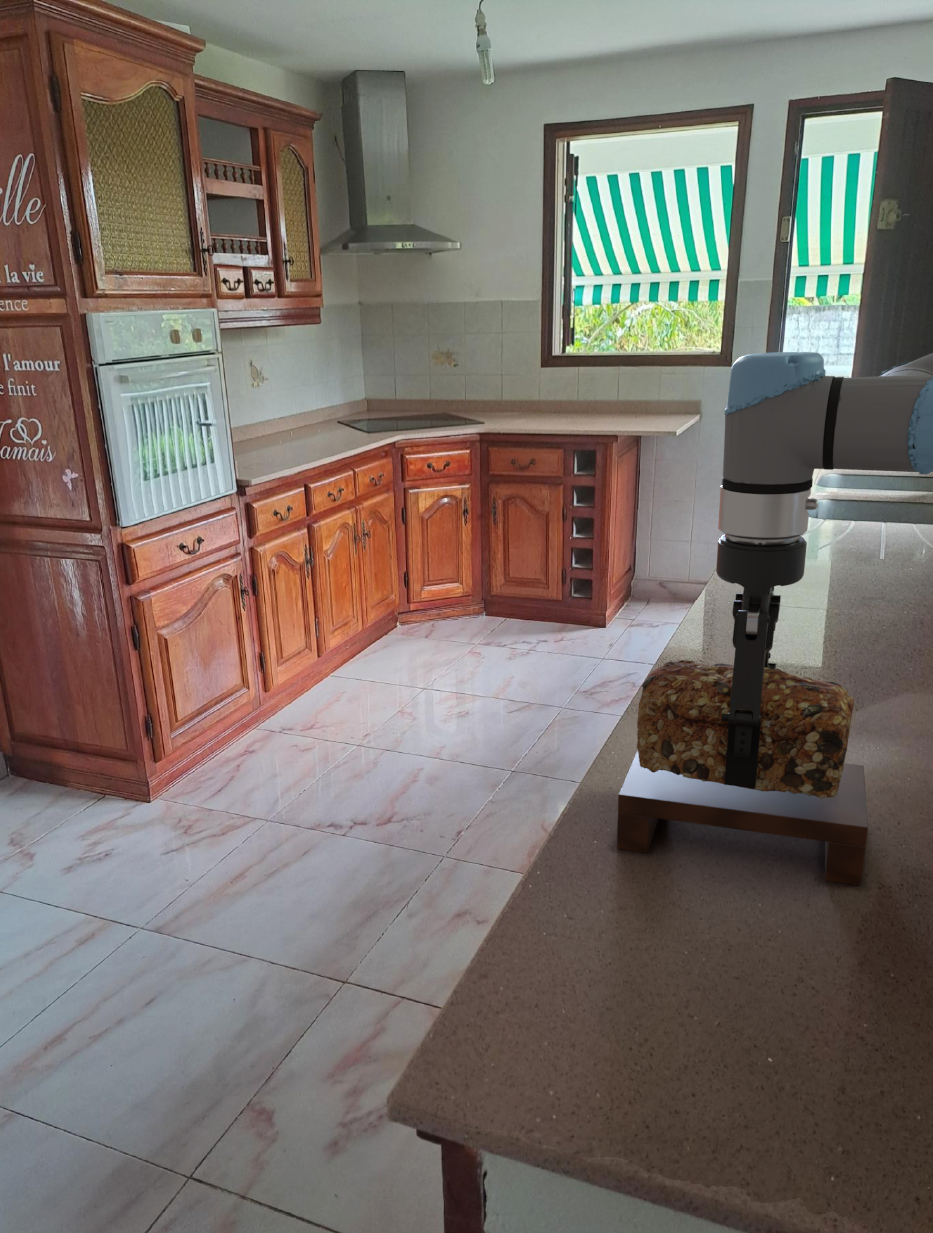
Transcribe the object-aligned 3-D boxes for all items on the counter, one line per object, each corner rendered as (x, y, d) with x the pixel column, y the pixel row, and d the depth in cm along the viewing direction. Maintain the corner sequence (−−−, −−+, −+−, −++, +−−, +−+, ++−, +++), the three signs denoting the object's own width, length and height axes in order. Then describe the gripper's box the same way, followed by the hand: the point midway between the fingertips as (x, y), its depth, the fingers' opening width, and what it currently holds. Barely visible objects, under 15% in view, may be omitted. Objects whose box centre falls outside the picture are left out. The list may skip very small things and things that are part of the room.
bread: (632, 774, 93) (635, 678, 90) (658, 732, 102) (662, 644, 99) (840, 808, 85) (852, 704, 82) (848, 759, 94) (860, 663, 91)
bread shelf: (857, 818, 98) (863, 765, 96) (860, 886, 87) (868, 827, 84) (639, 790, 106) (641, 740, 104) (616, 848, 94) (618, 794, 92)
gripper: (804, 569, 74) (780, 820, 82) (809, 511, 94) (790, 717, 102) (704, 564, 77) (690, 808, 84) (730, 509, 97) (716, 710, 105)
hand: (744, 758), depth 93 cm, fingers closed on bread, 11 cm apart
